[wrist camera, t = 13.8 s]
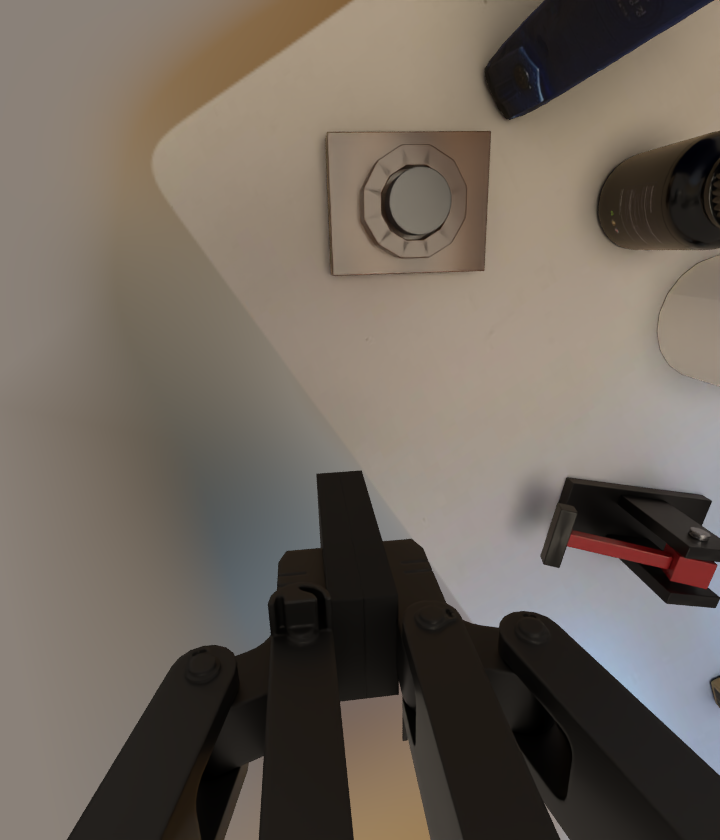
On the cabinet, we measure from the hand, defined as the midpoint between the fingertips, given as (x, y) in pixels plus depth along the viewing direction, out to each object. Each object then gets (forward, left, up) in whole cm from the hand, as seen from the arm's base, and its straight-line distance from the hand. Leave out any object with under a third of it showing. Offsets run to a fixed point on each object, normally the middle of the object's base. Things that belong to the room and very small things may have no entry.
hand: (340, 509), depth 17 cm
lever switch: (+28, -16, -24) cm, 40 cm away
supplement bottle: (+25, +11, -25) cm, 37 cm away
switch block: (+7, +11, -24) cm, 28 cm away
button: (+7, +11, -21) cm, 24 cm away
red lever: (+24, -15, -19) cm, 34 cm away
